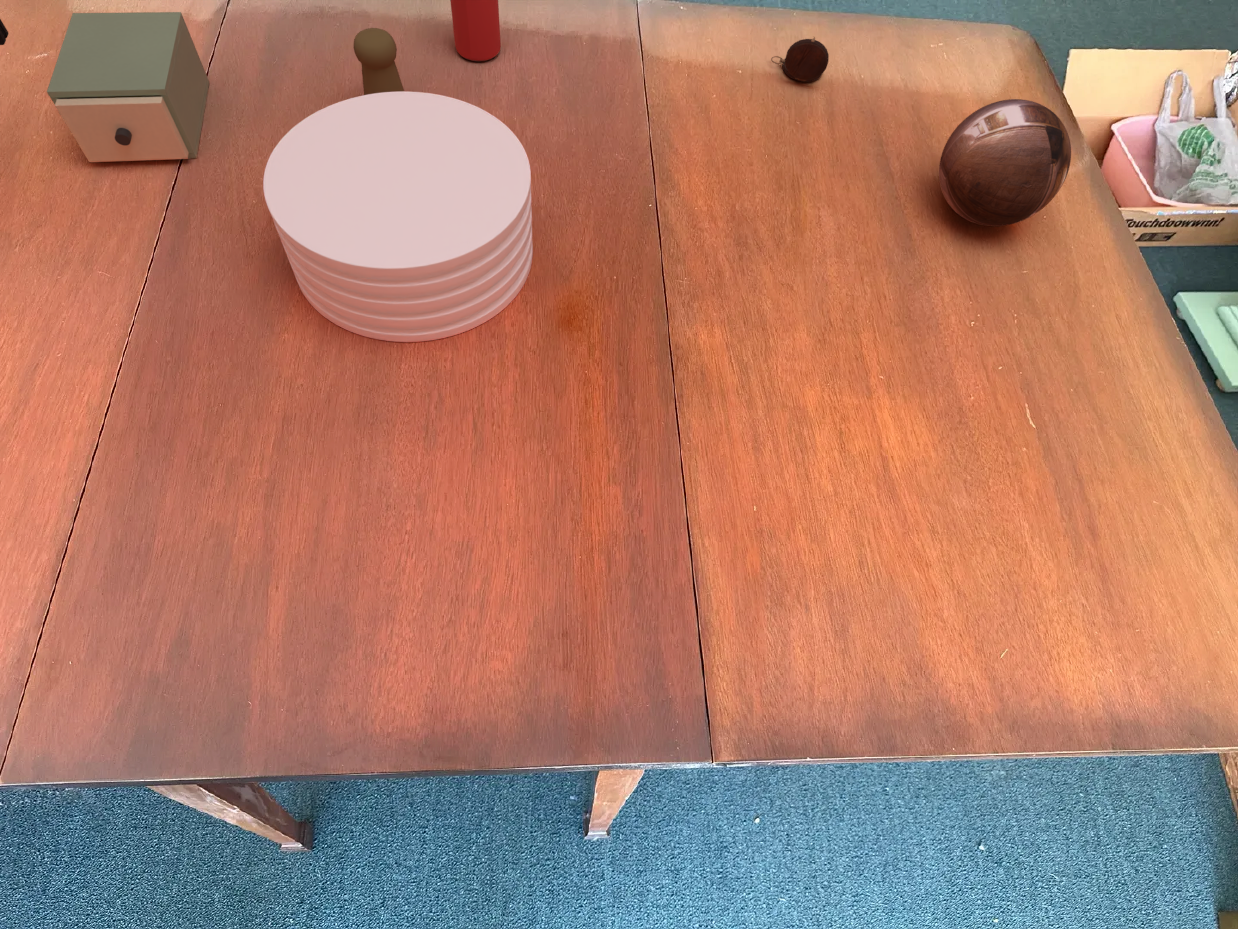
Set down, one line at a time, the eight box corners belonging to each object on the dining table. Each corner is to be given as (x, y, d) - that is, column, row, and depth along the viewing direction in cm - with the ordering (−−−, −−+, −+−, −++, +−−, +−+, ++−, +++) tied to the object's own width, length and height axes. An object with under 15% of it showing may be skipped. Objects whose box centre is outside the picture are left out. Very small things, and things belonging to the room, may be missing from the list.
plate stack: (294, 355, 84) (260, 281, 75) (293, 181, 98) (264, 98, 88) (549, 327, 89) (549, 254, 79) (515, 164, 103) (511, 84, 93)
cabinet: (196, 158, 99) (164, 88, 90) (89, 162, 97) (46, 91, 88) (209, 82, 106) (181, 11, 98) (110, 84, 104) (72, 12, 96)
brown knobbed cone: (376, 132, 104) (359, 53, 94) (358, 106, 106) (339, 27, 96) (418, 120, 106) (405, 41, 96) (399, 94, 108) (385, 15, 98)
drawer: (186, 165, 97) (159, 109, 90) (87, 168, 95) (52, 111, 88) (200, 86, 104) (176, 29, 97) (108, 88, 103) (78, 30, 96)
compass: (823, 63, 120) (838, 15, 113) (818, 93, 116) (833, 46, 109) (772, 52, 120) (784, 4, 114) (765, 82, 116) (778, 34, 110)
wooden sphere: (900, 182, 107) (948, 80, 94) (992, 166, 110) (1051, 66, 97) (955, 259, 100) (1016, 162, 87) (1052, 240, 103) (1123, 143, 90)
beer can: (464, 67, 112) (455, -20, 102) (449, 41, 115) (439, -46, 105) (507, 59, 114) (503, -27, 104) (492, 33, 117) (486, -53, 106)
